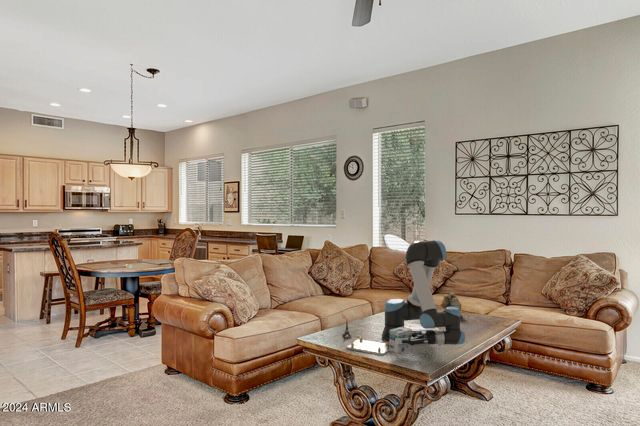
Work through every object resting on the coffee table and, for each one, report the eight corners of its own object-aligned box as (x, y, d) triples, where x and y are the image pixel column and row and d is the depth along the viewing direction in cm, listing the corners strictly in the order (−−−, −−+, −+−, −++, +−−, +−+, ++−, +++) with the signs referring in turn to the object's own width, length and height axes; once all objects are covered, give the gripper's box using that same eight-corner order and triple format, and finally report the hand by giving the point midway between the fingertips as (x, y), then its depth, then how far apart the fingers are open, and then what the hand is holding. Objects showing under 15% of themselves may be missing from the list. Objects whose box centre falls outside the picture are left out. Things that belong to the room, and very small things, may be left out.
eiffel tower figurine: (362, 338, 265) (362, 316, 265) (352, 342, 258) (352, 320, 257) (343, 333, 275) (343, 312, 275) (333, 337, 268) (332, 315, 268)
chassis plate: (357, 341, 258) (357, 335, 258) (393, 346, 248) (393, 341, 247) (346, 349, 244) (346, 343, 244) (383, 355, 234) (383, 349, 233)
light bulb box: (398, 353, 224) (398, 332, 224) (388, 349, 229) (388, 329, 229) (412, 349, 230) (412, 329, 230) (402, 345, 236) (403, 326, 235)
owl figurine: (435, 314, 319) (435, 291, 319) (446, 312, 326) (446, 290, 326) (456, 320, 304) (456, 295, 304) (466, 317, 311) (466, 293, 311)
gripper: (440, 352, 218) (397, 352, 218) (428, 337, 242) (389, 337, 241) (441, 337, 218) (397, 337, 218) (428, 323, 241) (389, 323, 241)
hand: (393, 337), depth 229 cm, fingers closed on light bulb box, 11 cm apart
